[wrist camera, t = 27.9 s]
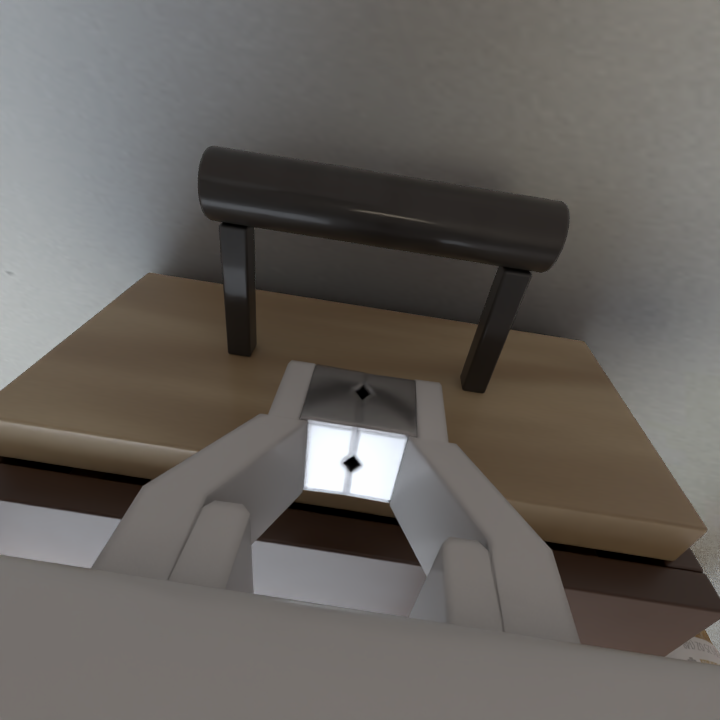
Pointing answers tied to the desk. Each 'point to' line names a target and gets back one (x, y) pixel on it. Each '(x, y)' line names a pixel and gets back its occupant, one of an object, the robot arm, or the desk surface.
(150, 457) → the drawer
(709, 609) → the cabinet
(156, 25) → the desk surface
